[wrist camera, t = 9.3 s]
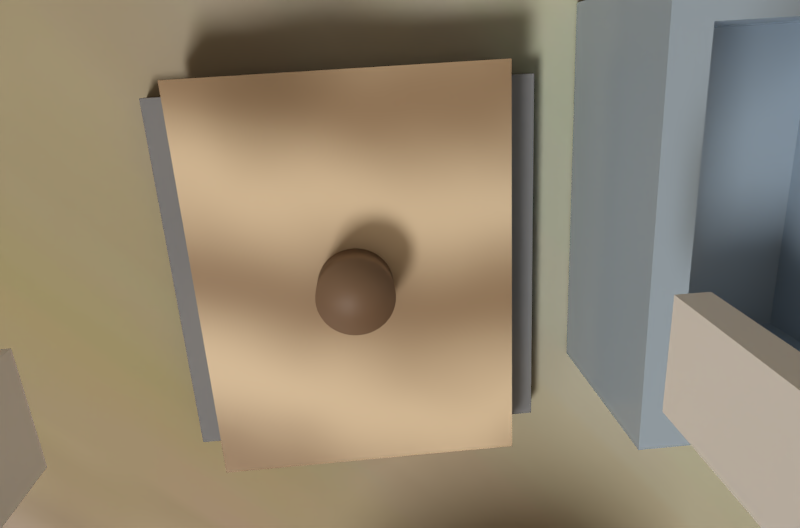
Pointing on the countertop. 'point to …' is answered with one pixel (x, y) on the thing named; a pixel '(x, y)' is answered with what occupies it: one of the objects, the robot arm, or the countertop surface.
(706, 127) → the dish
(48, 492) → the countertop surface
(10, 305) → the countertop surface
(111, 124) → the countertop surface
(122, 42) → the countertop surface
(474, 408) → the lid
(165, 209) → the mat
